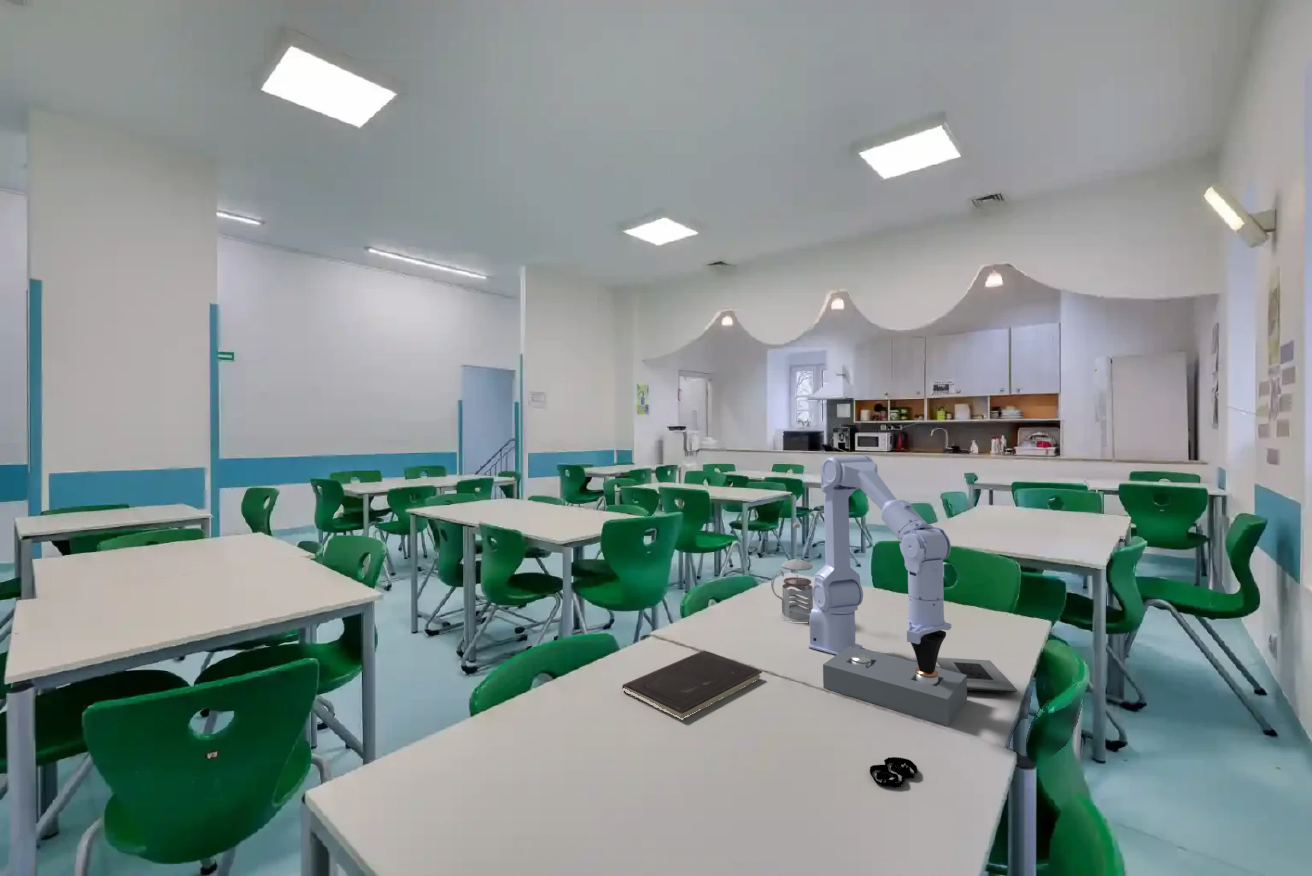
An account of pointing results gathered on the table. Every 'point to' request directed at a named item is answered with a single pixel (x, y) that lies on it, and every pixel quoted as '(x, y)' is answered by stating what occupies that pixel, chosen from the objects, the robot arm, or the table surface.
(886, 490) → the robot arm
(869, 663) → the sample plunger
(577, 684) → the table surface
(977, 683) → the electrical outlet
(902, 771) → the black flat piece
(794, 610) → the french press
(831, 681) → the console
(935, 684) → the copper-capped canister
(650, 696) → the hardcover book
